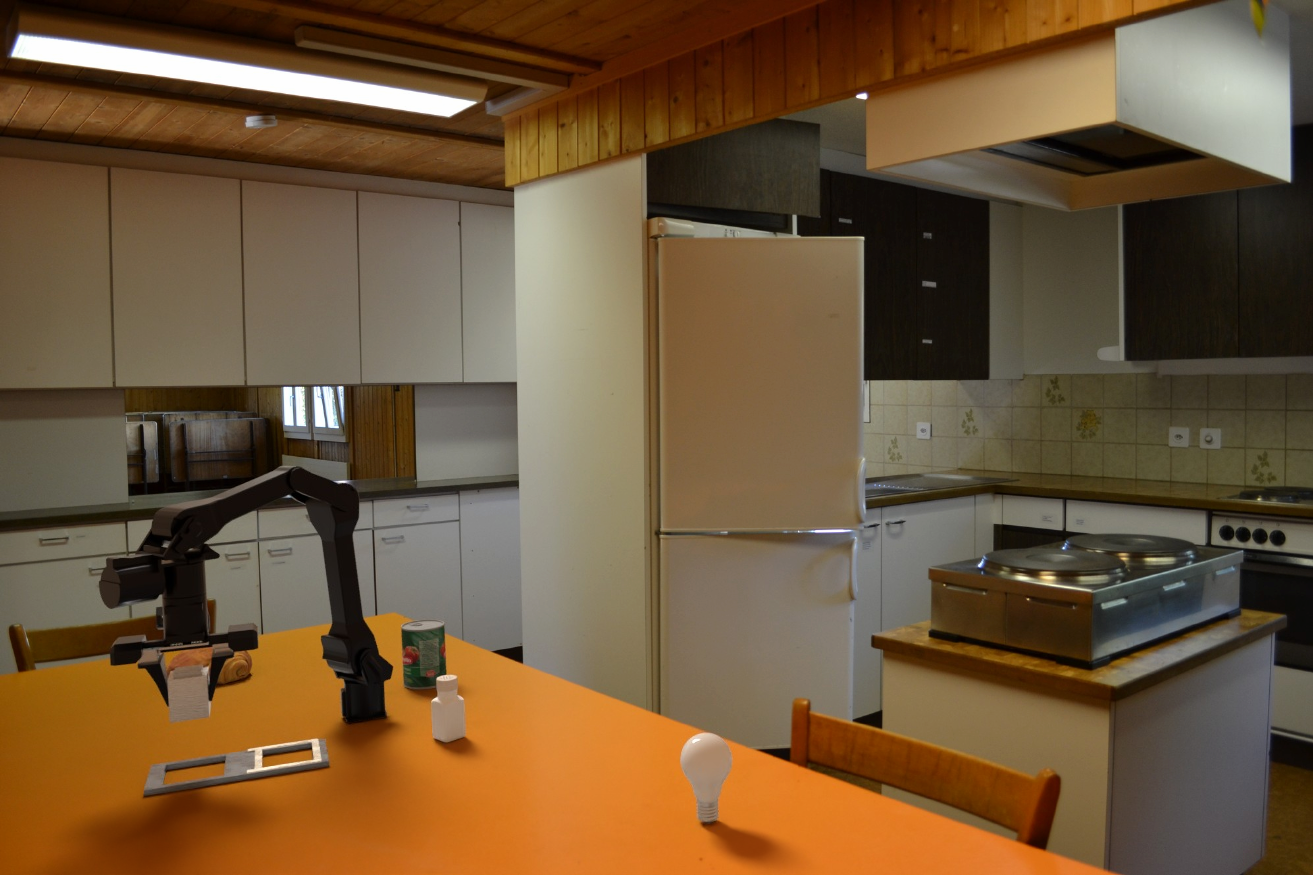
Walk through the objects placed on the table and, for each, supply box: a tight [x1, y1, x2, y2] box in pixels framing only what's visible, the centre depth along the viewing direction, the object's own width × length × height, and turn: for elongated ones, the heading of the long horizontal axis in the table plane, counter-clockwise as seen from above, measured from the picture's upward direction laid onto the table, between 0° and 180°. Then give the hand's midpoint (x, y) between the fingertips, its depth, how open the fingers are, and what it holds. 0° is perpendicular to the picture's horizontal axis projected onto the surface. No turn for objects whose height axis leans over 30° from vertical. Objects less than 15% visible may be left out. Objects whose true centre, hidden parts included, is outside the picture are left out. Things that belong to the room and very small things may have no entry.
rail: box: [143, 738, 330, 797], centre depth 143 cm, size 24×10×1 cm, turn 112°
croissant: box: [166, 647, 253, 685], centre depth 190 cm, size 14×16×8 cm
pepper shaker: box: [430, 674, 467, 743], centre depth 153 cm, size 4×4×10 cm
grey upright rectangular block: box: [167, 664, 212, 724], centre depth 140 cm, size 5×5×7 cm
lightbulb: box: [679, 732, 733, 824], centre depth 121 cm, size 6×6×11 cm
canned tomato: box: [400, 619, 448, 690], centre depth 182 cm, size 8×8×11 cm
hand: (190, 703), depth 140 cm, fingers closed on grey upright rectangular block, 5 cm apart
